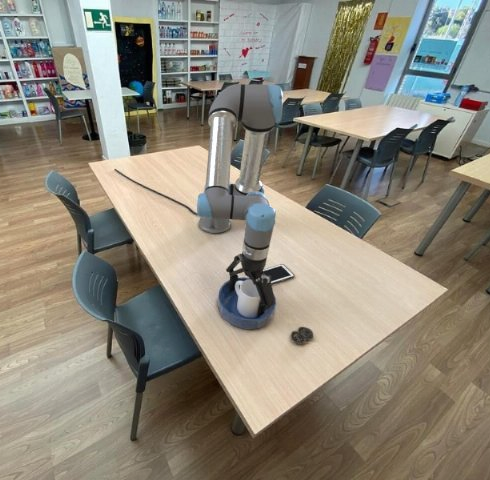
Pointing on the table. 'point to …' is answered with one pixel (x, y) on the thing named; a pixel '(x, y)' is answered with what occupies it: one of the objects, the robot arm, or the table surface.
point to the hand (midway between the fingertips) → (246, 301)
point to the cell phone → (278, 273)
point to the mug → (247, 298)
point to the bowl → (232, 315)
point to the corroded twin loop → (302, 335)
